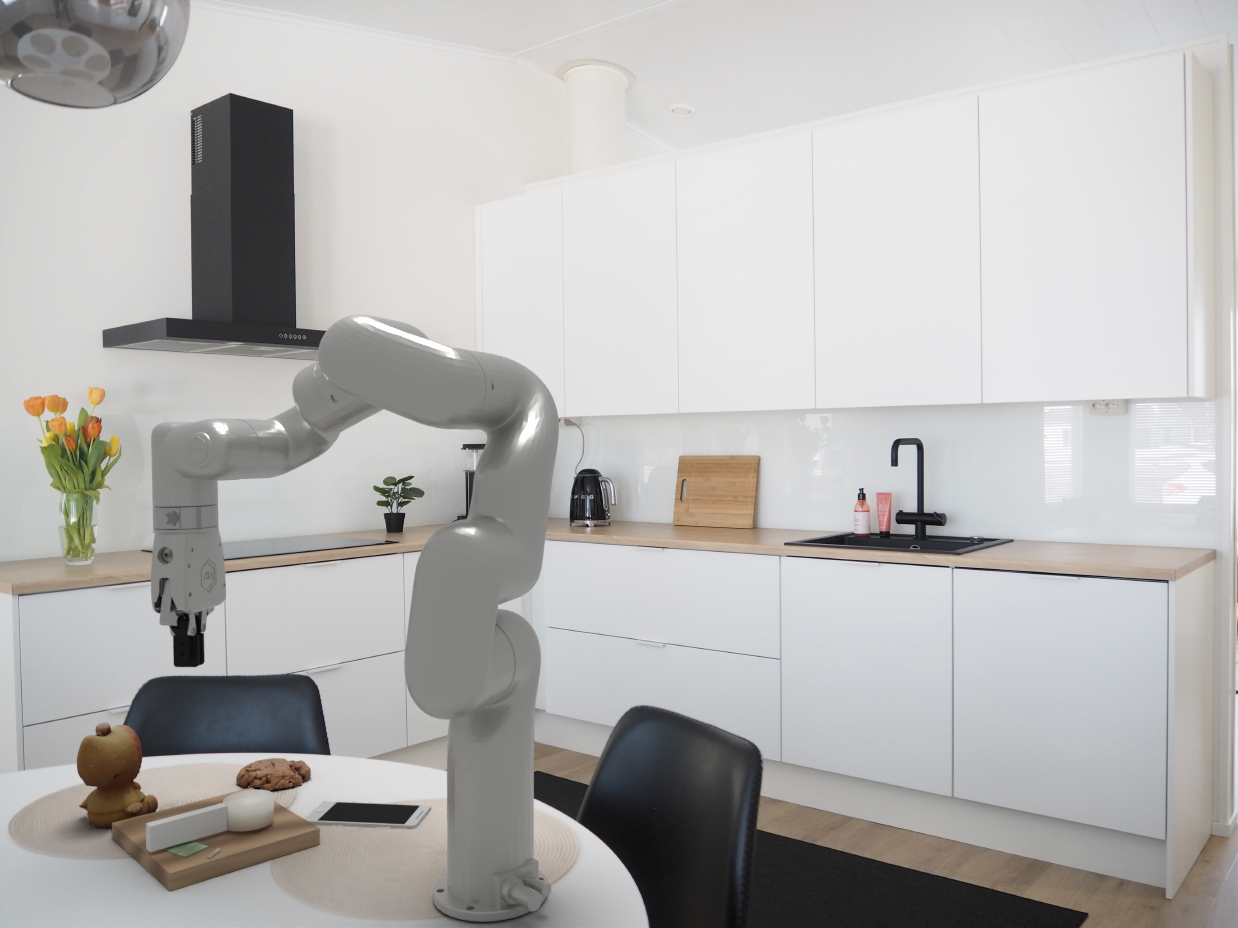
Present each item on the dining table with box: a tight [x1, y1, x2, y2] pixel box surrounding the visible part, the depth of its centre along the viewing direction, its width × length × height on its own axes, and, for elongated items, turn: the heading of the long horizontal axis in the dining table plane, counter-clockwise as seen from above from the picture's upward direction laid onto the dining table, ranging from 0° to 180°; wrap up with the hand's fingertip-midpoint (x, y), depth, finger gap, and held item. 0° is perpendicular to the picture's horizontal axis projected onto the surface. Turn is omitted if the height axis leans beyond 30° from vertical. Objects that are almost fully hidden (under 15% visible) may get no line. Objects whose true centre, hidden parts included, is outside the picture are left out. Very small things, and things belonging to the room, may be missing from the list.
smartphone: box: [303, 800, 432, 830], centre depth 129 cm, size 7×16×1 cm, turn 84°
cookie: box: [235, 757, 312, 791], centre depth 143 cm, size 10×11×3 cm
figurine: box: [76, 721, 159, 829], centre depth 127 cm, size 10×8×15 cm
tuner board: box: [111, 787, 321, 892], centre depth 121 cm, size 20×18×2 cm
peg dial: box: [146, 789, 275, 852], centre depth 118 cm, size 15×6×3 cm, turn 135°
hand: (189, 665), depth 121 cm, fingers closed
